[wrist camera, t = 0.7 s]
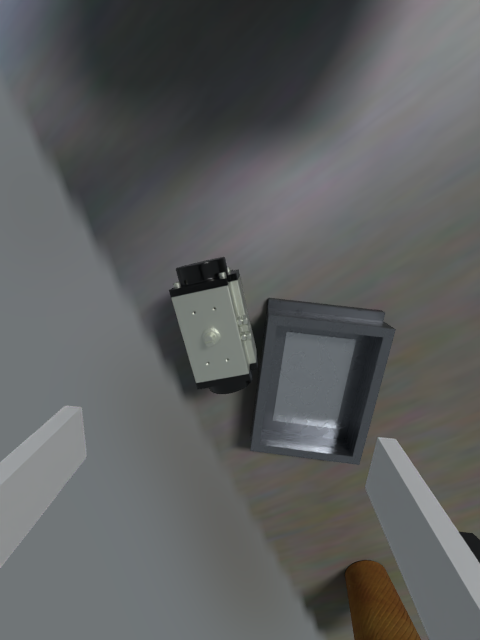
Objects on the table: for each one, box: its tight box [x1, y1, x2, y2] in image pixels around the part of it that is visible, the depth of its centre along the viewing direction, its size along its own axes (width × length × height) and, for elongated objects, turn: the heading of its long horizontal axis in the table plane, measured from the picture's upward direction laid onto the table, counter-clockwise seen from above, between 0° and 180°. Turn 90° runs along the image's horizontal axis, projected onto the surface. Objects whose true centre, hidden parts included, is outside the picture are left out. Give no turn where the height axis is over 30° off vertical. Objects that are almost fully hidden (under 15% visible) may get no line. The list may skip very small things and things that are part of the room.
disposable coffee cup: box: [345, 560, 421, 640], centre depth 38 cm, size 10×10×12 cm
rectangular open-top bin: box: [250, 298, 396, 465], centre depth 33 cm, size 19×13×4 cm
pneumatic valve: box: [169, 257, 258, 394], centre depth 28 cm, size 6×12×12 cm, turn 13°
